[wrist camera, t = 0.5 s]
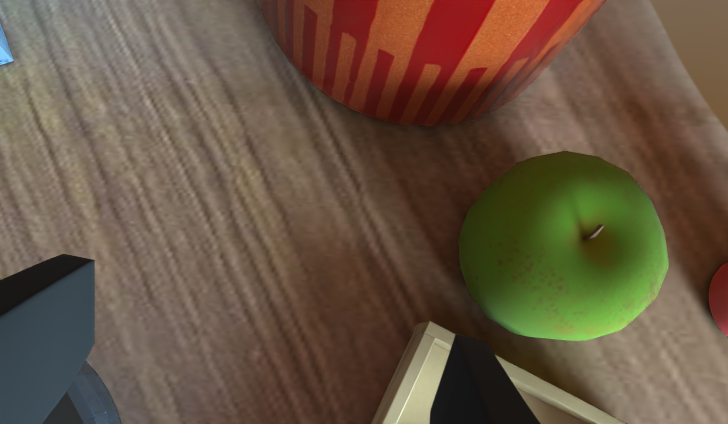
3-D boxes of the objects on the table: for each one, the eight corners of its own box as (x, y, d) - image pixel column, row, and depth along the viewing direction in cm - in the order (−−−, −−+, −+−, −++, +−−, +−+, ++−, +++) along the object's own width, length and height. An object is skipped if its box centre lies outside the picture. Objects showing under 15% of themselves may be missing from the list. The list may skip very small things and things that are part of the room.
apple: (413, 248, 40) (457, 211, 30) (522, 156, 43) (598, 92, 33) (522, 377, 39) (607, 385, 29) (627, 274, 42) (741, 247, 31)
